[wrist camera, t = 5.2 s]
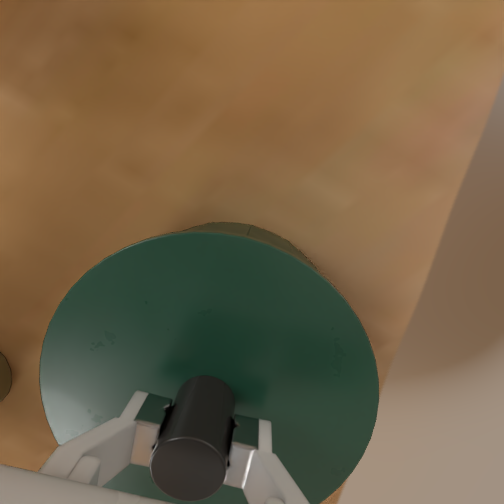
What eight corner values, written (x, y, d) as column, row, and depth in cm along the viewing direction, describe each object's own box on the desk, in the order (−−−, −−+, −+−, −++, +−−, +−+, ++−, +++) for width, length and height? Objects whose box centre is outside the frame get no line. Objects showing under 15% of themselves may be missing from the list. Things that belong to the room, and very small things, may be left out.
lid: (42, 473, 17) (-42, 584, 12) (73, 191, 13) (-26, 196, 9) (320, 537, 17) (340, 669, 12) (416, 273, 14) (493, 319, 9)
